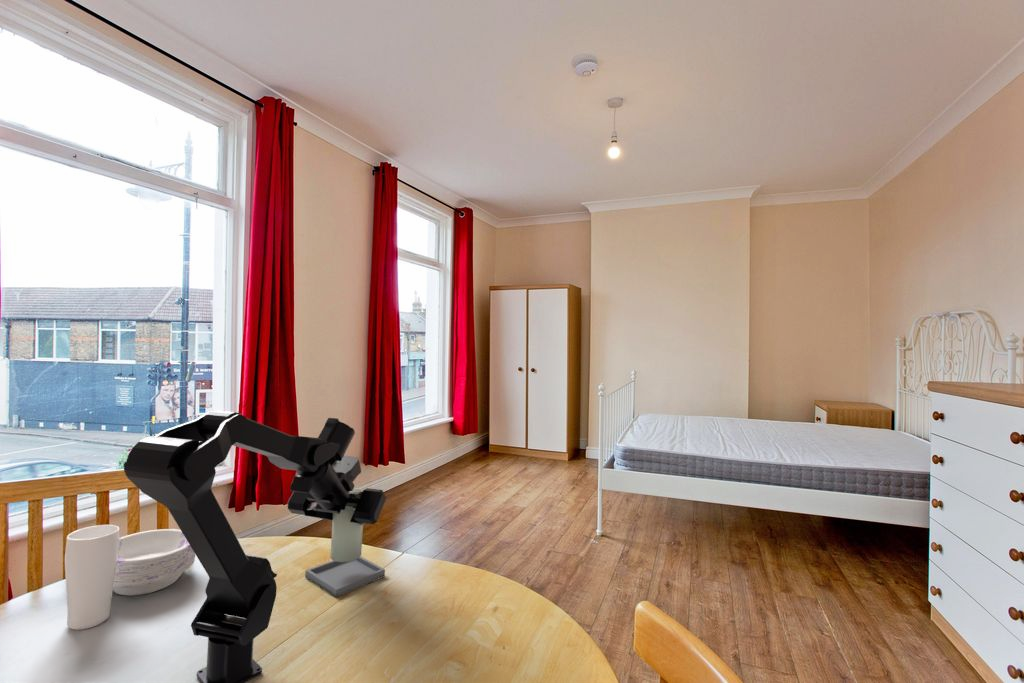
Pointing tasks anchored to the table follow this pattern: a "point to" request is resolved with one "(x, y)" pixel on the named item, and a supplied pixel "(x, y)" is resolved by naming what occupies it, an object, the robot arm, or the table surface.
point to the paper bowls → (151, 561)
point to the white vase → (90, 574)
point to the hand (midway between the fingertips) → (351, 521)
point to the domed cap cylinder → (346, 535)
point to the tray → (344, 575)
